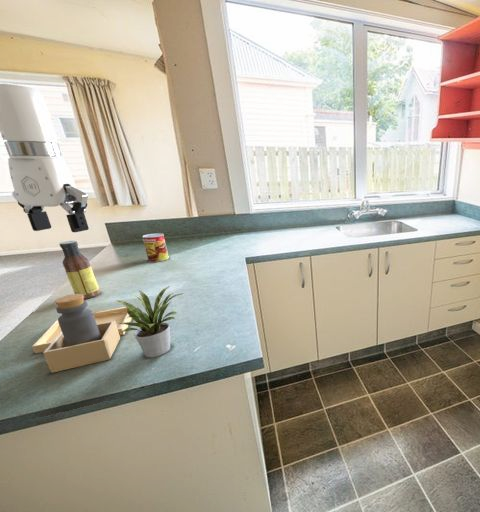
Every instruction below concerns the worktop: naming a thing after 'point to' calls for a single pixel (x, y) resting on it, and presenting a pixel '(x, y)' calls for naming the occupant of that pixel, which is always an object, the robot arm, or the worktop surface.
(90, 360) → the bin
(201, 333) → the worktop surface
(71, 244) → the sauce bottle
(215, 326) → the worktop surface
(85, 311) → the bottle
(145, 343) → the house plant
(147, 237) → the canned food
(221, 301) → the worktop surface
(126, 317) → the tray
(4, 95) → the robot arm
